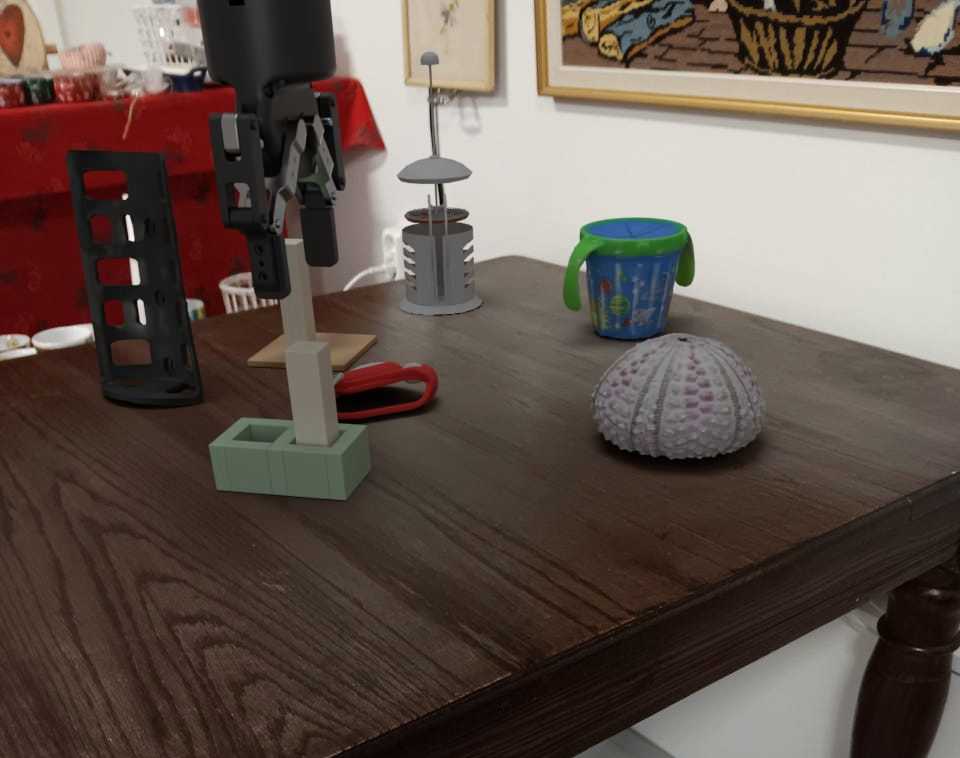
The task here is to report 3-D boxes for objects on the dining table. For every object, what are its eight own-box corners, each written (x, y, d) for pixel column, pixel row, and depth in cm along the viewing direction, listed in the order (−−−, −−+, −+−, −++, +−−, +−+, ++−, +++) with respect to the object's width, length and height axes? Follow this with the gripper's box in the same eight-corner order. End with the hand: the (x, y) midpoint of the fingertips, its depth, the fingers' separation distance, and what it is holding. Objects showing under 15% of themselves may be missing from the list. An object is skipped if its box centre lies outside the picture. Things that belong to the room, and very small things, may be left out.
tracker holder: (336, 370, 91) (439, 346, 88) (349, 418, 92) (451, 396, 89) (286, 383, 80) (402, 355, 77) (301, 438, 81) (416, 412, 78)
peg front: (301, 487, 72) (283, 350, 67) (313, 474, 74) (296, 340, 69) (332, 489, 72) (316, 352, 66) (344, 476, 74) (329, 341, 68)
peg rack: (216, 490, 72) (208, 445, 70) (248, 460, 77) (241, 417, 75) (346, 500, 70) (341, 454, 68) (371, 469, 75) (367, 424, 73)
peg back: (285, 349, 99) (271, 243, 93) (295, 342, 101) (281, 238, 95) (308, 350, 98) (295, 244, 93) (317, 343, 100) (305, 238, 95)
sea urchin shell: (563, 423, 81) (566, 324, 77) (709, 401, 85) (719, 305, 81) (637, 486, 71) (644, 375, 66) (799, 457, 74) (817, 350, 70)
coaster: (247, 366, 96) (246, 360, 96) (287, 336, 104) (286, 330, 104) (344, 371, 94) (344, 365, 94) (377, 340, 102) (377, 334, 102)
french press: (480, 291, 118) (474, 47, 104) (487, 318, 108) (482, 53, 95) (398, 294, 118) (381, 50, 104) (397, 322, 108) (379, 56, 94)
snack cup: (591, 357, 96) (595, 246, 90) (537, 330, 104) (537, 227, 98) (720, 332, 102) (731, 226, 96) (660, 309, 110) (667, 210, 104)
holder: (76, 401, 88) (32, 150, 79) (123, 381, 95) (87, 148, 85) (189, 410, 86) (157, 153, 77) (229, 389, 92) (204, 151, 83)
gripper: (253, -13, 63) (288, 256, 72) (138, -12, 51) (197, 308, 60) (365, -17, 61) (387, 258, 70) (273, -17, 50) (313, 312, 59)
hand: (299, 281), depth 65 cm, fingers open, 8 cm apart
